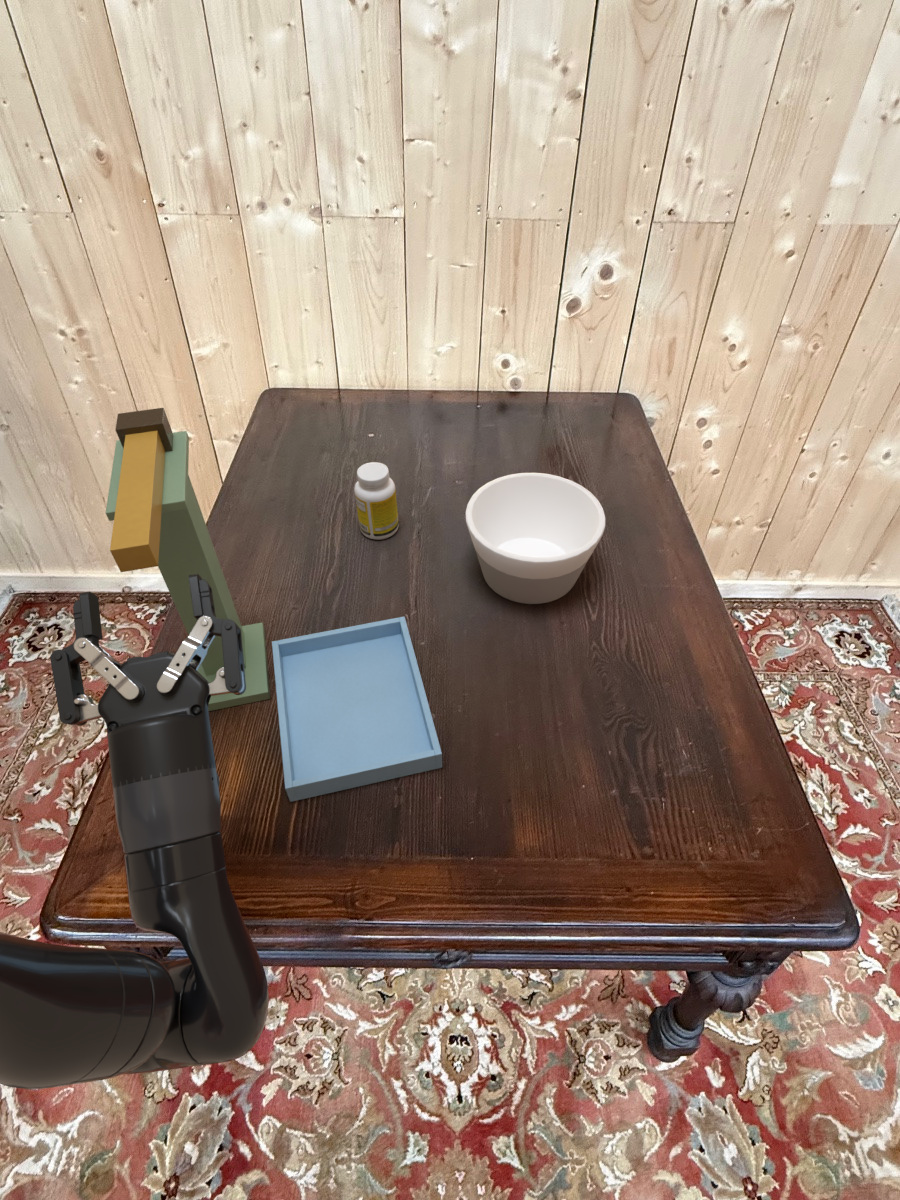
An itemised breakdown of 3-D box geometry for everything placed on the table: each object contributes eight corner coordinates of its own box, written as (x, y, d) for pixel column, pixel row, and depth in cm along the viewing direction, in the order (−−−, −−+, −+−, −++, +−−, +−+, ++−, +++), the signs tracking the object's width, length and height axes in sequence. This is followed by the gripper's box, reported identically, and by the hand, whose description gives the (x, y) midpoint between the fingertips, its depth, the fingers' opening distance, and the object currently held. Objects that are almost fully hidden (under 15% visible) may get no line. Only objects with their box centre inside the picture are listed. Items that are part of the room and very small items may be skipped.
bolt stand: (189, 715, 86) (87, 515, 62) (190, 643, 94) (100, 442, 70) (270, 698, 87) (201, 498, 64) (264, 629, 95) (201, 428, 72)
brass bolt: (111, 574, 57) (97, 545, 55) (128, 441, 71) (117, 413, 68) (166, 564, 58) (154, 536, 56) (173, 434, 71) (163, 407, 69)
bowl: (568, 635, 94) (578, 580, 86) (442, 591, 100) (441, 535, 92) (611, 549, 106) (623, 493, 98) (496, 514, 112) (499, 458, 104)
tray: (290, 802, 78) (285, 788, 75) (276, 656, 92) (271, 641, 90) (442, 767, 80) (442, 753, 78) (405, 631, 95) (404, 616, 92)
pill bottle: (404, 519, 111) (399, 462, 103) (391, 544, 107) (386, 486, 99) (367, 512, 112) (360, 455, 104) (354, 537, 108) (345, 480, 100)
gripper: (251, 761, 51) (220, 557, 55) (47, 805, 49) (29, 588, 53) (265, 763, 59) (238, 582, 62) (89, 800, 56) (70, 610, 60)
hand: (142, 585), depth 57 cm, fingers open, 8 cm apart
